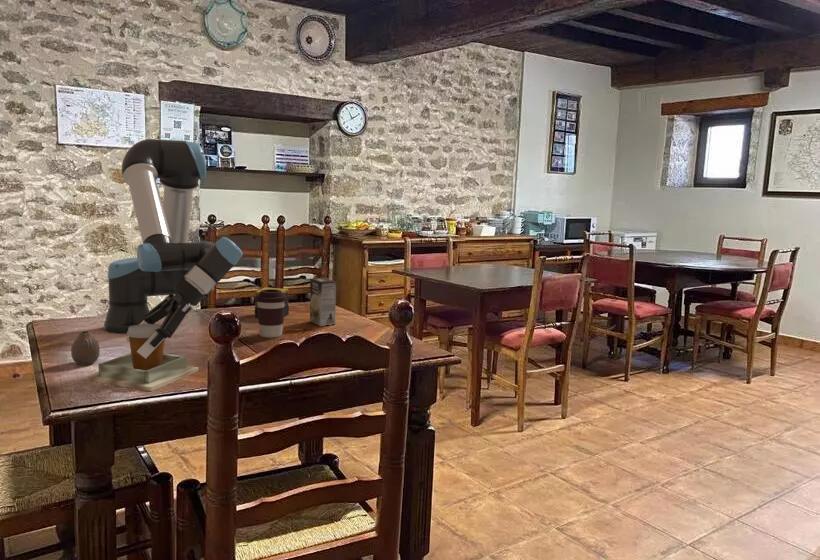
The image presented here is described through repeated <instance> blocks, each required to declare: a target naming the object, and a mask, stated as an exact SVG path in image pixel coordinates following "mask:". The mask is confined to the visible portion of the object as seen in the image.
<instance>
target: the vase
mask: <svg viewBox="0 0 820 560" xmlns="http://www.w3.org/2000/svg"><path fill="white" fill-rule="evenodd" d="M100 351H101V349H100V344H99V342H98V340H97V339H96V338H95V337H94V336H93V335H92V334H91V332H90V330H89V331H88V330H83V331H80V332H79V334H78V335H77V337H76V338H75V339H74V341H73V343H72V344H71V349H70V354H71V358H72V360H73V361H74V363H75V364H77V365H79V366H90V365H94V364H95V363H96V362H97V361H98V359H99V357H100Z"/></svg>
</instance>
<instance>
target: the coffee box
mask: <svg viewBox="0 0 820 560" xmlns="http://www.w3.org/2000/svg"><path fill="white" fill-rule="evenodd" d="M309 280H310V288H309V289H310V290H309V291H310V293H309V300H310V301H309V321H310V322H311V323H312V324H314V325H316V324H317V325H316V326H318V325H319V327H326V325H329V326H333V325H332V324H335V325H336V308H337V307H336V306H337V305H336V304H337V303H336V301H337V300H336V299H337V281H336V280H333V279H330V278H328V277H315V278H310V279H309Z"/></svg>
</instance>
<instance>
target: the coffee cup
mask: <svg viewBox="0 0 820 560" xmlns="http://www.w3.org/2000/svg"><path fill="white" fill-rule="evenodd" d="M260 290H261V289H260ZM254 297H255V298H254V299H255V300H256V301H257V303H258V306H257V313H258V318H257V323H258V328H259V329H258V331H259V332H258V333H259V336H260V337H262V338H268V339H271V338H272V339H273V338H274V337H275V338H279V337H281V336H282V335H283V328H284V327H283V326H284V322H285V321H284V319H285V317H284V311H285V306H284V302H285V301H286V295H284V294H283V293H282V291H281V290H276V289H266V290H261V291H260V294H258V295H256V296H254Z"/></svg>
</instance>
